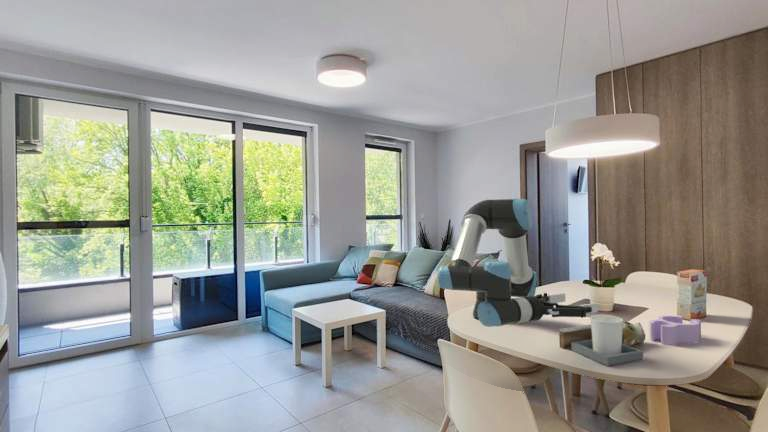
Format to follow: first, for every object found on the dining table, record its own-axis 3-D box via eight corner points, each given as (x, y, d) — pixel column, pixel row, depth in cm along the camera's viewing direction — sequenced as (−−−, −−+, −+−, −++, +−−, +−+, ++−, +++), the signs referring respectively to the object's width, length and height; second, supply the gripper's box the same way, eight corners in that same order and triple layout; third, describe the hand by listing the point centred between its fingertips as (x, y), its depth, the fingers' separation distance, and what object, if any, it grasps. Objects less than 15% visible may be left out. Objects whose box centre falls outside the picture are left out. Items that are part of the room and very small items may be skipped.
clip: (674, 348, 136) (674, 329, 136) (639, 338, 148) (639, 320, 148) (708, 340, 144) (708, 321, 144) (672, 330, 155) (672, 313, 155)
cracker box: (692, 321, 167) (691, 273, 166) (676, 318, 172) (676, 271, 172) (707, 316, 173) (707, 270, 173) (692, 313, 179) (691, 268, 178)
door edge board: (559, 346, 140) (558, 328, 140) (598, 340, 145) (598, 323, 145) (564, 349, 138) (563, 330, 137) (603, 342, 143) (603, 325, 143)
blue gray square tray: (571, 350, 136) (571, 342, 136) (604, 345, 141) (604, 337, 141) (607, 366, 122) (607, 357, 122) (643, 360, 126) (643, 351, 126)
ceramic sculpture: (654, 321, 138) (626, 330, 133) (655, 345, 139) (627, 355, 133) (625, 315, 148) (598, 322, 142) (626, 337, 149) (599, 345, 143)
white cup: (593, 346, 139) (593, 312, 139) (625, 351, 133) (625, 317, 132) (587, 354, 131) (587, 319, 131) (621, 361, 125) (620, 324, 125)
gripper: (502, 310, 133) (553, 304, 139) (554, 333, 109) (612, 324, 115) (501, 289, 132) (552, 283, 139) (553, 307, 109) (612, 299, 115)
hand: (580, 302), depth 127 cm, fingers open, 13 cm apart
